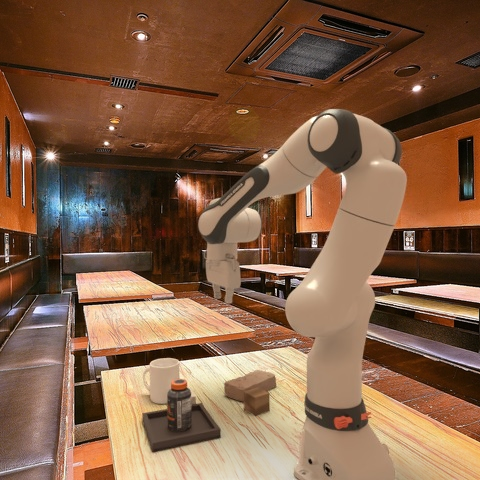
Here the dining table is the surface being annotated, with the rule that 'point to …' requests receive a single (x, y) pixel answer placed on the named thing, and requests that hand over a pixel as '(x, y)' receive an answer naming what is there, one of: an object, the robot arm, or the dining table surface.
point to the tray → (167, 439)
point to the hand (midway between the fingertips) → (222, 300)
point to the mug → (161, 378)
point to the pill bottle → (179, 406)
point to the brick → (249, 384)
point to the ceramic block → (193, 398)
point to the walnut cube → (256, 401)
